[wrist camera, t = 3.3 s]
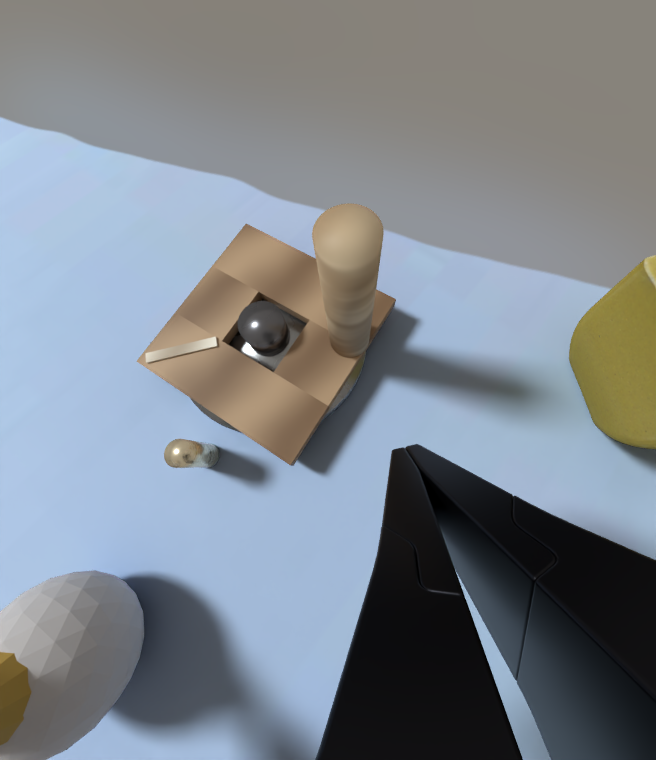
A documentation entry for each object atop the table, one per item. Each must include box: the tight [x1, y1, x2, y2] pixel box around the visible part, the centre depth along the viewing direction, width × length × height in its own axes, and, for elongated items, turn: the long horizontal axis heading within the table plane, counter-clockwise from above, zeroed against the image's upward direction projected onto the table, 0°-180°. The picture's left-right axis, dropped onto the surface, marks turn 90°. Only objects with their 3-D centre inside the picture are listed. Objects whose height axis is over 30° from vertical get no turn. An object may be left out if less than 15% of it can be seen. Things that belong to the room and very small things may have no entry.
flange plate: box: [137, 204, 396, 465], centre depth 18 cm, size 13×13×11 cm
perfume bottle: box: [0, 571, 144, 760], centre depth 14 cm, size 8×10×12 cm
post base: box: [164, 299, 366, 468], centre depth 22 cm, size 14×17×4 cm
